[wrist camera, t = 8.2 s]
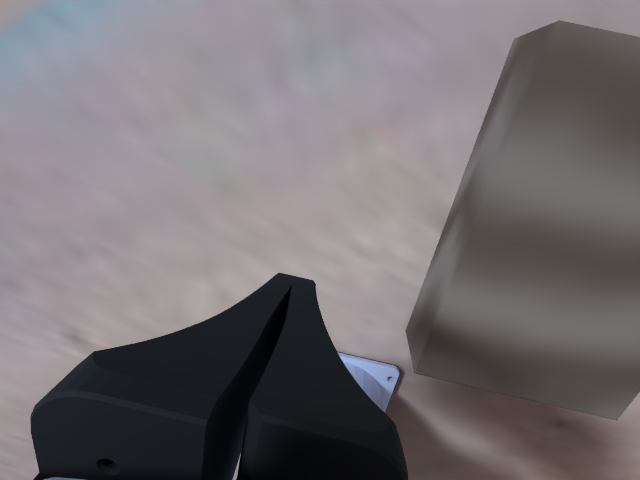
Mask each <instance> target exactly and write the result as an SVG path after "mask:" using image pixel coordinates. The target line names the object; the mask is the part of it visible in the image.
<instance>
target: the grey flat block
mask: <svg viewBox="0 0 640 480" xmlns="http://www.w3.org/2000/svg"><path fill="white" fill-rule="evenodd" d="M406 334H407V339H408V344H409V349H410V354H411V359H412V363H413V368H414V373H416V374H420V375H424V376H429V377H433V378H437V379H442V380H446V381H450V382H454V383H459V384H463V385H467V386H471V387H476V388H480V389H484V390H489V391H493V392H497V393H501V394H506V395H510V396H514V397H518V398H523V399H527V400H531V401H536V402H540V403H544V404H548V405H553V406H557V407H561V408H565V409H570V410H574V411H578V412H583V413H587V414H591V415H595V416H600V417H604V418H608V419H612V420H618V418H619V417H620V416H621V415H622V413H623V412H624V411H625V410H626V408H627V407H628V406H629V404H630V403H631V402H632V401H633V399H634V398H635V397H636V396H637V394H638V393H639V392H640V37H636V36H631V35H627V34H622V33H617V32H612V31H607V30H603V29H598V28H593V27H588V26H583V25H579V24H574V23H569V22H564V21H557V22H554V23H552V24H549V25H547V26H545V27H542V28H540V29H537V30H535V31H532V32H530V33H527V34H525V35H523V36H520V37H518V38H515V39H514V41H513V44H512V46H511V49H510V52H509V54H508V57H507V60H506V62H505V65H504V68H503V71H502V73H501V76H500V79H499V81H498V84H497V87H496V89H495V92H494V95H493V97H492V100H491V103H490V105H489V108H488V111H487V114H486V116H485V119H484V122H483V124H482V127H481V130H480V132H479V135H478V138H477V140H476V143H475V146H474V149H473V151H472V154H471V157H470V159H469V162H468V165H467V167H466V170H465V173H464V175H463V178H462V181H461V183H460V186H459V189H458V192H457V194H456V197H455V200H454V202H453V205H452V208H451V210H450V213H449V216H448V218H447V221H446V224H445V226H444V229H443V232H442V235H441V237H440V240H439V243H438V245H437V248H436V251H435V253H434V256H433V259H432V261H431V264H430V267H429V270H428V272H427V275H426V278H425V280H424V283H423V286H422V288H421V291H420V294H419V296H418V299H417V302H416V304H415V307H414V310H413V313H412V315H411V318H410V321H409V323H408V326H407V329H406Z"/></svg>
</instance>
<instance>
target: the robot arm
mask: <svg viewBox="0 0 640 480" xmlns="http://www.w3.org/2000/svg"><path fill="white" fill-rule="evenodd" d="M388 377H392V378H388ZM398 377H399V369H398V367H396V366H394V365H390V364H385V363H381V362H377V361H373V360H368V359H364V358H360V357H355V356H351V355H347V354H343V353H338V352H337V351H336V349H335V347H334V345H333V343H332V341H331V339H330V337H329V334H328V332H327V329H326V327H325V324H324V322H323V319H322V316H321V312H320V309H319V305H318V301H317V296H316V284H315V282H314V281H313V280H309V279H304V278H300V277H296V276H291V275H287V274H283V273H278V274H276V275H275V276H274V277H273V278H271V279H270V280H269V281H268V282H267V283H265V284H264V285H263V286H262V287H260V288H259V289H258V290H256V291H255V292H253V293H252V294H251V295H249V296H248V297H246V298H245V299H243V300H242V301H240V302H239V303H237V304H235V305H234V306H232V307H231V308H229V309H227V310H225V311H224V312H222V313H220V314H218V315H216V316H214V317H212V318H210V319H208V320H205V321H203V322H201V323H198V324H195V325H193V326H190V327H188V328H185V329H182V330H180V331H177V332H174V333H171V334H168V335H164V336H161V337H158V338H154V339H150V340H147V341H143V342H139V343H135V344H130V345H125V346H120V347H115V348H110V349H105V350H100V351H94V352H93V353H92V354H91V355H89V356H88V357H87V358H86V359H84V360H83V361H82V362H81V363H80V364H78V365H77V366H76V367H75V368H74V369H73V370H72V371H71V372H70V373H69V374H68V375H67V376H66V377H65V378H64V379H63V380H61V381H60V382H59V383H58V384H57V385H56V386H55V387H54V388H53V389H52V390H51V391H50V392H49V393H48V394H47V395H46V396H45V397H43V398H42V399H41V400H40V401H39V402H38V403H37V404H36V405H35V407H34V409H33V412H32V414H31V434H32V439H33V444H34V449H35V453H36V458H37V463H38V467H39V472H40V473H39V474H38V475H37V476H36V477H35V478H34V480H232V479H233V476H234V472H235V469H236V466H237V463H238V459H239V456H240V453H241V457H240V463H239V469H238V476H237V480H408V473H407V467H406V462H405V457H404V453H403V449H402V446H401V442H400V439H399V435H398V432H397V429H396V425H395V423H394V422H393V421H392V420H391V419H390V418H389V417H388V416H387V415H386V414H385V411H386V408H387V406H388V403H389V400H390V398H391V395H392V393H393V390H394V388H395V385H396V382H397V380H398Z"/></svg>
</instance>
